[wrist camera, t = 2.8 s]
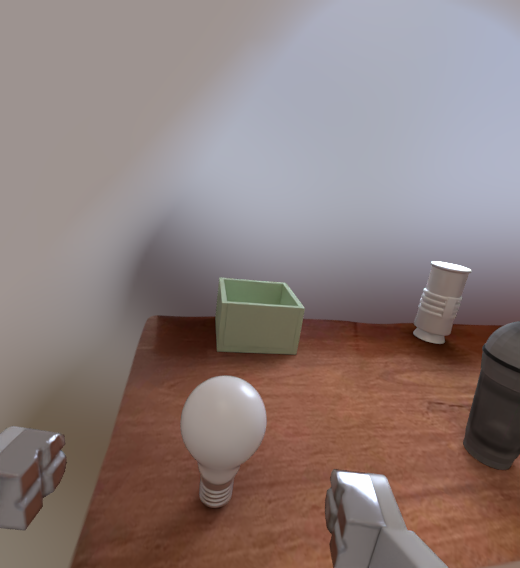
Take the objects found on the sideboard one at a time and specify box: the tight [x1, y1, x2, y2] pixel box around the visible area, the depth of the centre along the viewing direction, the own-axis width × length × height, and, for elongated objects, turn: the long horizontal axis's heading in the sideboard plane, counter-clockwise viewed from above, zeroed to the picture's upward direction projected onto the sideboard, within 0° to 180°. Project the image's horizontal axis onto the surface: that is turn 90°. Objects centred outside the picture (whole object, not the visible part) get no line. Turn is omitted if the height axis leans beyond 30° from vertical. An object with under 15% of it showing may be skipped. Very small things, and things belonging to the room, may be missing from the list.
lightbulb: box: [180, 376, 267, 508], centre depth 25 cm, size 6×6×11 cm
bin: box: [215, 278, 305, 355], centre depth 54 cm, size 13×13×8 cm
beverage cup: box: [463, 321, 520, 470], centre depth 32 cm, size 7×7×20 cm
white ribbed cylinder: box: [413, 261, 472, 344], centre depth 63 cm, size 7×7×15 cm
